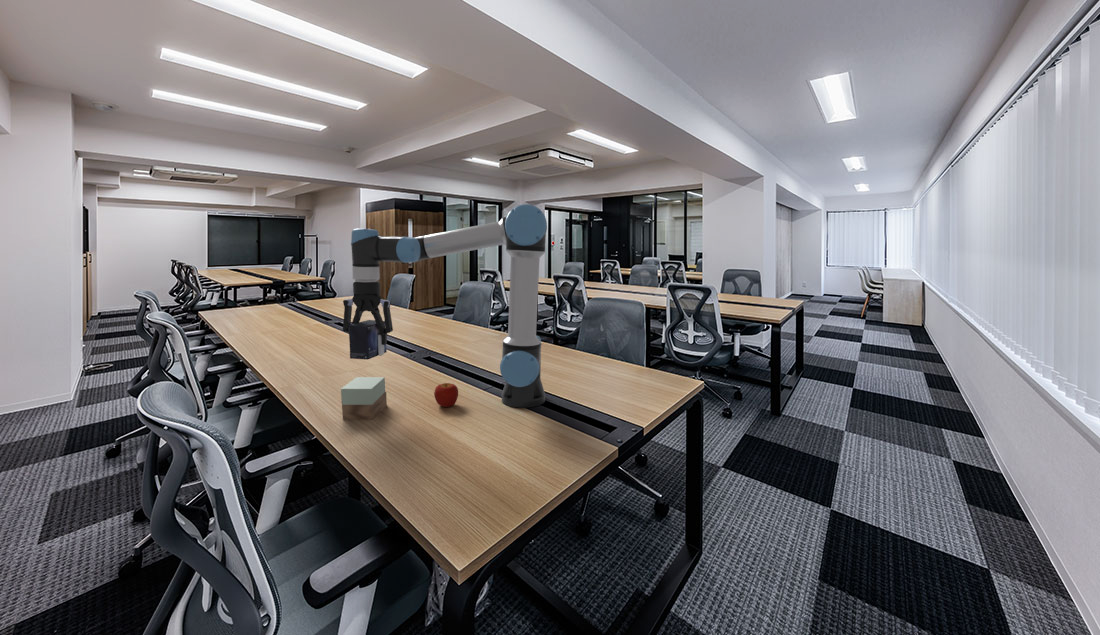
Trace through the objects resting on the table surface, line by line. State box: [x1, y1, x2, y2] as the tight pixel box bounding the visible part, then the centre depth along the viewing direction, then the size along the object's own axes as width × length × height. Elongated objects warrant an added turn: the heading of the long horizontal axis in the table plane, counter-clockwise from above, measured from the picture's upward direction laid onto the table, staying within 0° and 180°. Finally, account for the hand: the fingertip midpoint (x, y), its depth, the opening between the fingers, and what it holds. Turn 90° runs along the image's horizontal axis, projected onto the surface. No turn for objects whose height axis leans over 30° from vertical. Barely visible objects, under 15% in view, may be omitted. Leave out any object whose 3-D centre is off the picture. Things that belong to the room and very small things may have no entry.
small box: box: [348, 319, 387, 360], centre depth 132 cm, size 11×6×10 cm, turn 170°
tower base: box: [341, 391, 388, 420], centre depth 135 cm, size 9×12×5 cm
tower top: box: [340, 376, 386, 406], centre depth 134 cm, size 9×12×5 cm
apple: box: [433, 382, 459, 408], centre depth 141 cm, size 8×8×8 cm
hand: (368, 354), depth 133 cm, fingers closed on small box, 7 cm apart
